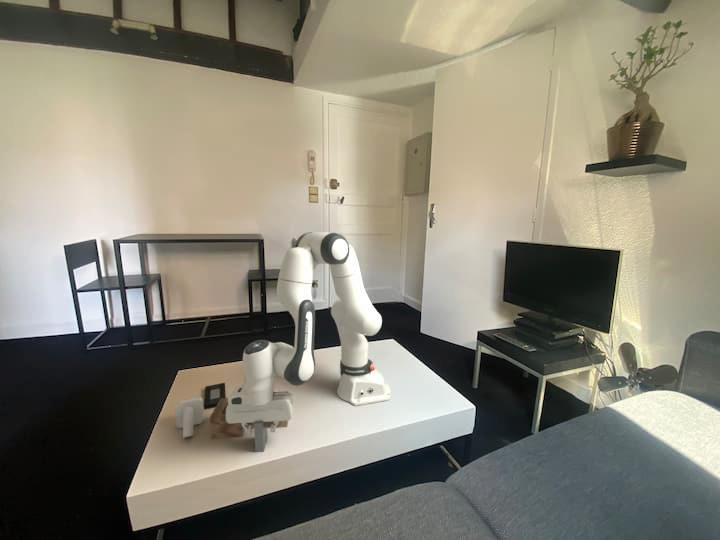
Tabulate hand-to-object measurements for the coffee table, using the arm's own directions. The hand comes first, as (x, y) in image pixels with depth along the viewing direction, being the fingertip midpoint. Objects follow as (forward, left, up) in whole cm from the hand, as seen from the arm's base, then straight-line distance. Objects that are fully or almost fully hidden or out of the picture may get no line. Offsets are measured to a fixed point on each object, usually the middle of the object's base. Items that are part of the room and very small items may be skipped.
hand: (261, 431), depth 95 cm
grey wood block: (0, 0, -5) cm, 5 cm away
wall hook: (+26, -9, -5) cm, 28 cm away
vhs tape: (+24, -27, -5) cm, 37 cm away
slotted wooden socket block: (+5, -9, -5) cm, 11 cm away
